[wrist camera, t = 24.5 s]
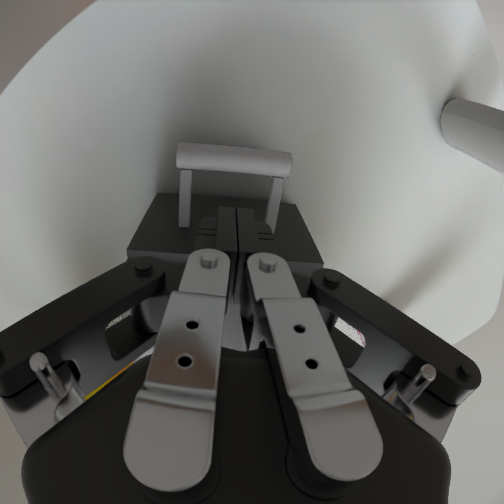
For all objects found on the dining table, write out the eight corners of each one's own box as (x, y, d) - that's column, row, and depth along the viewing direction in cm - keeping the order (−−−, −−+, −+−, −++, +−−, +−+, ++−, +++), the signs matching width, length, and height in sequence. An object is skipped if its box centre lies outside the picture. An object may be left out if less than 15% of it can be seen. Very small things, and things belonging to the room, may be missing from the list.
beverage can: (477, 131, 19) (572, 180, 9) (448, 157, 21) (544, 218, 11) (460, 88, 17) (567, 122, 7) (428, 113, 19) (540, 158, 9)
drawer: (159, 127, 18) (120, 155, 11) (308, 141, 19) (348, 176, 13) (163, 314, 27) (150, 381, 21) (268, 321, 29) (279, 387, 22)
